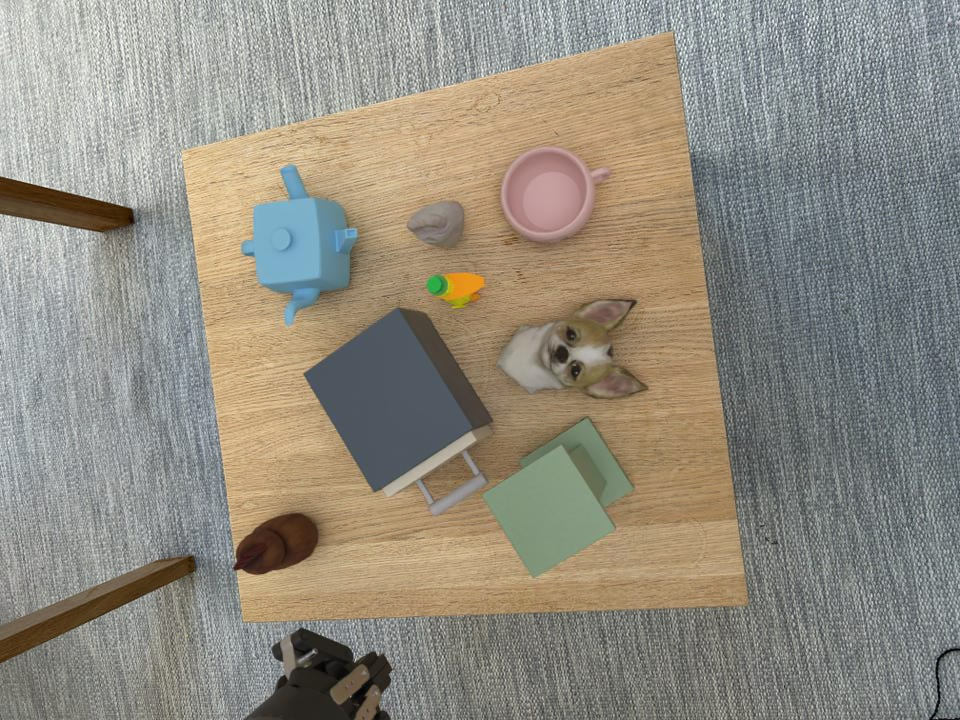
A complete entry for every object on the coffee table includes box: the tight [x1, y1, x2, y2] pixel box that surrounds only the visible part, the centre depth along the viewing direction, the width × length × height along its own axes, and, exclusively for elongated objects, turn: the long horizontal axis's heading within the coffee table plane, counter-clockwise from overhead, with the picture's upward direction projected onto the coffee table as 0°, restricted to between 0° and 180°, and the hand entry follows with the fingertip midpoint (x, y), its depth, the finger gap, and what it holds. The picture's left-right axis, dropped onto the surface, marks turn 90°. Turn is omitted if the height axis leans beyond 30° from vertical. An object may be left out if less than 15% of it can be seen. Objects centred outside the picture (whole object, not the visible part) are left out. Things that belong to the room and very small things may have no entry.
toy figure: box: [426, 272, 486, 310], centre depth 81 cm, size 7×4×12 cm, turn 98°
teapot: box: [240, 164, 359, 327], centre depth 86 cm, size 18×14×10 cm
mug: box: [499, 144, 613, 244], centre depth 81 cm, size 12×10×6 cm
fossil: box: [406, 200, 466, 249], centre depth 82 cm, size 6×4×10 cm, turn 123°
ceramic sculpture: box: [496, 298, 650, 401], centre depth 80 cm, size 11×9×15 cm
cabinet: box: [302, 306, 494, 493], centre depth 83 cm, size 15×13×10 cm
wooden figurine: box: [232, 512, 319, 576], centre depth 84 cm, size 7×6×15 cm
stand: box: [480, 416, 636, 579], centre depth 73 cm, size 9×9×22 cm
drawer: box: [381, 424, 494, 518], centre depth 83 cm, size 18×11×8 cm, turn 33°
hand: (378, 666), depth 60 cm, fingers closed
